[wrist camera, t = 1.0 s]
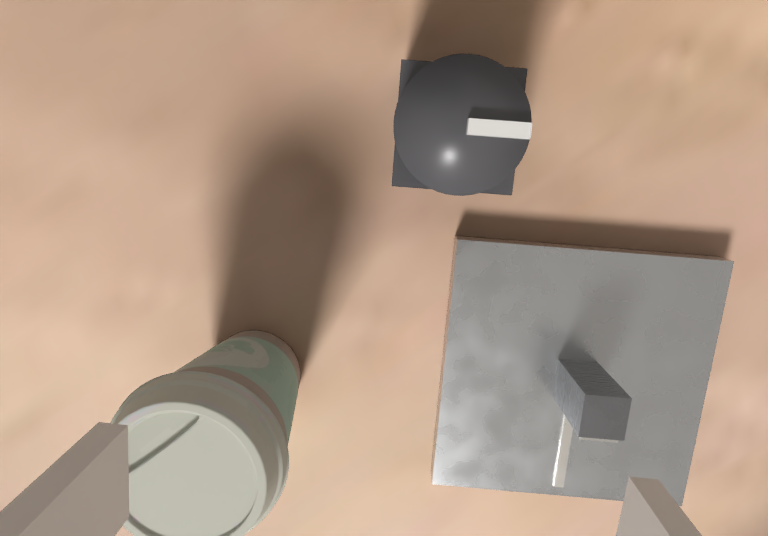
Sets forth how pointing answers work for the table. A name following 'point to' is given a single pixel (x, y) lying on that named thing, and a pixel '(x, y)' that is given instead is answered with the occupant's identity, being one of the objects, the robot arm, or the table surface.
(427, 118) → the knob
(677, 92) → the table surface
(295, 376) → the coffee cup
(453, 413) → the grey square plate
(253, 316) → the table surface
